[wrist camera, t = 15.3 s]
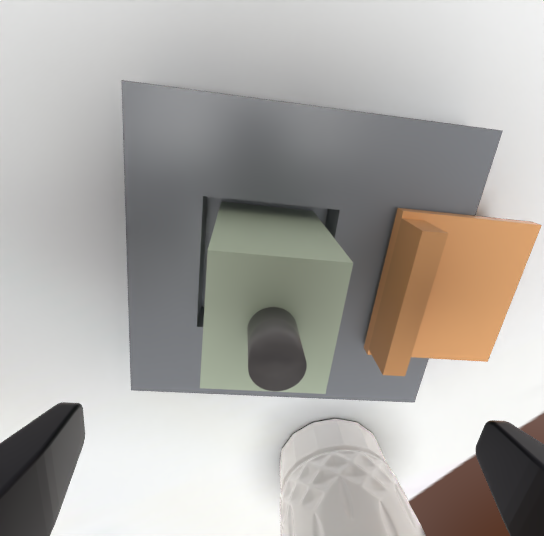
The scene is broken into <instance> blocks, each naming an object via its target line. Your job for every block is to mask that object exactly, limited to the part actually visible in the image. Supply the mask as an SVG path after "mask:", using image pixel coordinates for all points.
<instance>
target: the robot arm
mask: <svg viewBox="0 0 544 536" xmlns="http://www.w3.org/2000/svg"><path fill="white" fill-rule="evenodd" d="M84 439H85V427H84V417H83V408H82V405H81V404H79V403H65V402H63V403H59V404H57V405H55V406H54V407H52V408H51V409H49V410H48V411H46V412H45V413H44V414H42V415H41V416H39V417H38V418H36V419H35V420H33V421H32V422H30V423H29V424H28V425H26V426H25V427H23V428H22V429H20V430H19V431H17V432H16V433H15V434H13V435H12V436H10V437H9V438H7V439H6V440H4V441H3V442H1V443H0V536H50V534H51V532H52V529H53V527H54V525H55V522H56V520H57V517H58V514H59V512H60V509H61V506H62V503H63V500H64V498H65V495H66V492H67V489H68V486H69V484H70V481H71V478H72V475H73V472H74V469H75V467H76V464H77V461H78V458H79V455H80V453H81V450H82V447H83V444H84ZM476 456H477V459H478V462H479V464H480V466H481V468H482V471H483V473H484V476H485V478H486V481H487V483H488V485H489V488H490V490H491V492H492V495H493V497H494V500H495V502H496V504H497V507H498V509H499V511H500V514H501V516H502V518H503V521H504V523H505V525H506V527H507V530H508V532H509V534H510V536H544V444H542V443H541V442H539V441H538V440H536V439H534V438H533V437H531V436H530V435H528V434H526V433H525V432H523V431H522V430H520V429H518V428H517V427H515V426H514V425H512V424H510V423H509V422H506V421H488V422H487V423H486V424H485V426H484V428H483V431H482V433H481V435H480V438H479V440H478V442H477V445H476Z"/></svg>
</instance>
